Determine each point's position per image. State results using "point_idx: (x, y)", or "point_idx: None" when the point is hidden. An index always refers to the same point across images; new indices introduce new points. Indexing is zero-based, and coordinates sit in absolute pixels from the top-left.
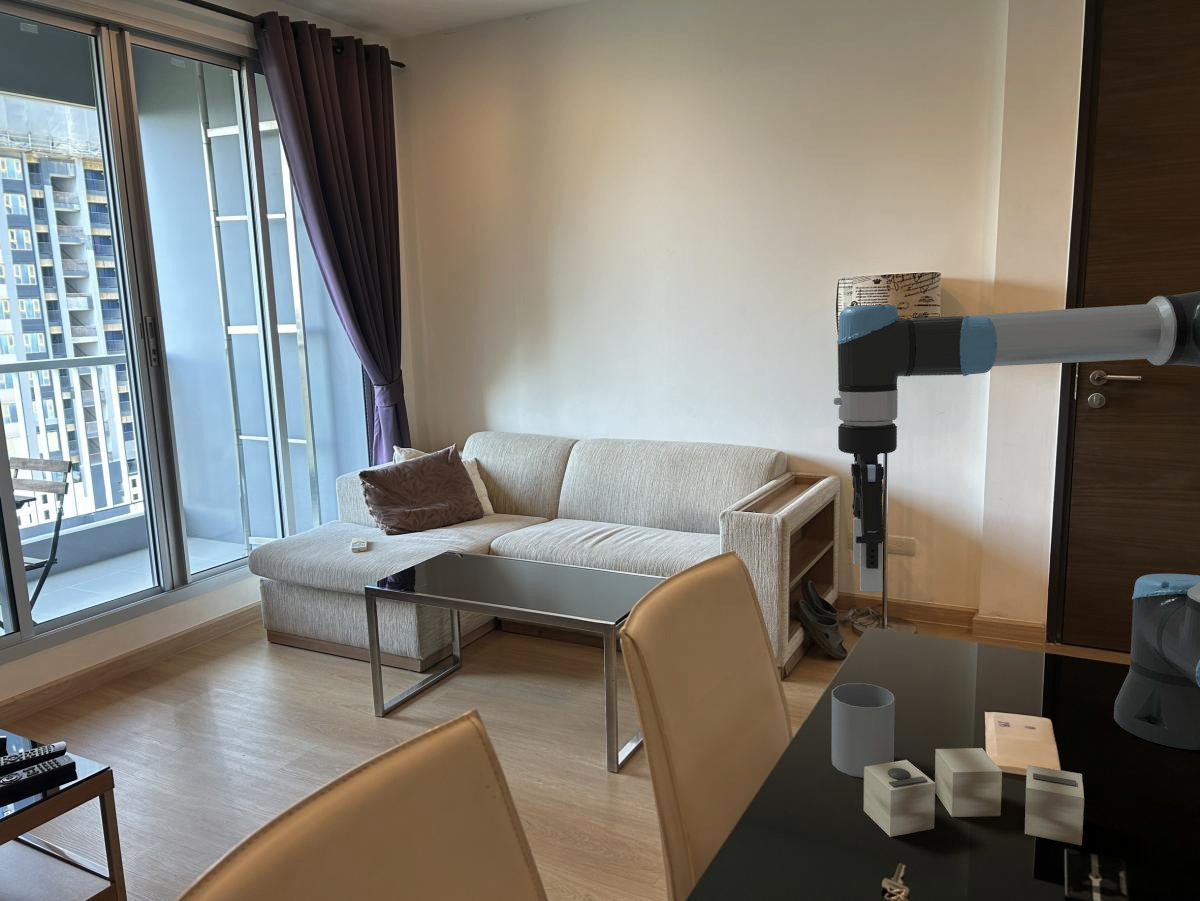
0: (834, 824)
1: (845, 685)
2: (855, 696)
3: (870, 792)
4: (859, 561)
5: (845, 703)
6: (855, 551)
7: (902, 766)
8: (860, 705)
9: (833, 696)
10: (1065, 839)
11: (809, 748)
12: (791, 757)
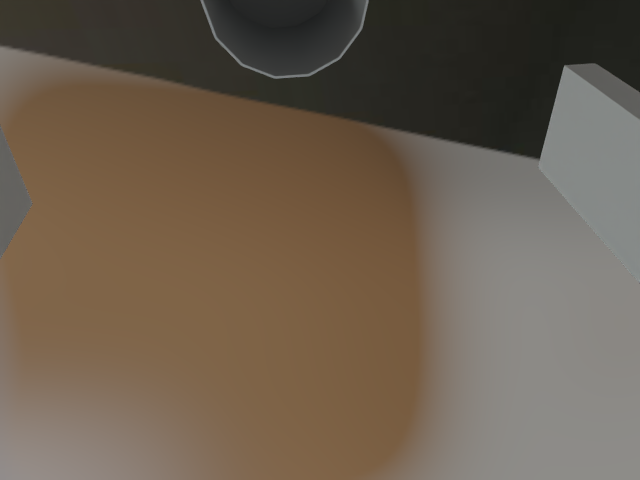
0: (509, 19)
1: (223, 42)
2: (210, 5)
3: None
4: (16, 183)
5: (224, 27)
6: (3, 240)
7: None
8: None
9: (310, 73)
10: None
11: (239, 72)
12: (284, 103)
